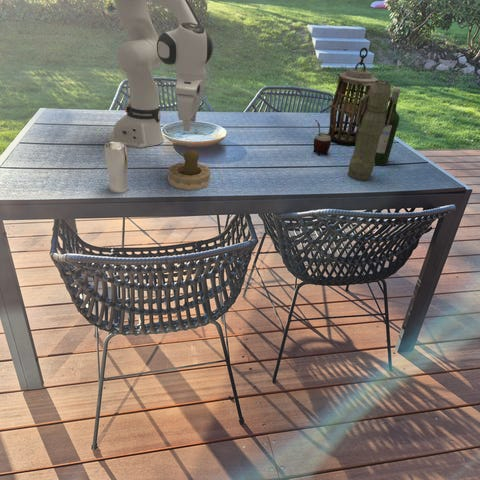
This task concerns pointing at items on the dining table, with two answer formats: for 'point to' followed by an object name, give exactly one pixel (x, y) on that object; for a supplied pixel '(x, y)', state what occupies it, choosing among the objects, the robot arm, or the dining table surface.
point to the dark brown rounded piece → (191, 162)
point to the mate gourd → (321, 142)
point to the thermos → (370, 129)
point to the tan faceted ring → (188, 177)
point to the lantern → (349, 103)
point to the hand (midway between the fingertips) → (189, 126)
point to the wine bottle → (388, 133)
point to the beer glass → (117, 166)
